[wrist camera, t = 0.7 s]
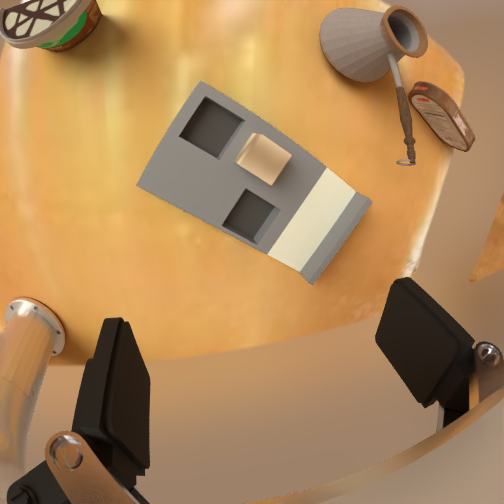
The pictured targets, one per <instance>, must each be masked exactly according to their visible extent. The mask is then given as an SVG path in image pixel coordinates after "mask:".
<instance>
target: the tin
mask: <svg viewBox="0 0 504 504" xmlns="http://www.w3.org/2000/svg"><path fill="white" fill-rule="evenodd" d="M410 101H411V103H412V105H413V106H414V108H415V109H416V110H417V111H418V112H419V114H420V115H421V116H422V117H423V119H424V120H425V121H426V122H427V124H428V125H429V126H430V127H431V129H432V130H433V131H434V133H435V134H436V135H437V136H438V137H439V138H440V139H441V140H442V141H443V142H445V143H446V144H448V145H449V146H451V147H453V148H456V149H458V150H462V151H464V152H467V151H469V149H470V148H471V146H472V144H473V142H474V141H475V135H474V133H473V131H472V129H471V128H470V126H469V124H468V122H467V121H466V119H465V117H464V116H463V114H462V112H461V111H460V109H459V107H458V106H457V104H456V103H455V101H454V100H453V99H452V98H451V97H450V96H449V95H448V94H447V93H446V92H445V91H443V90H442V89H441V88H439V87H437V86H435V85H433V84H431V83H427V82H417V83H415V85H414V88H413V89H412V91H411V93H410Z"/></svg>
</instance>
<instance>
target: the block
mask: <svg viewBox="0 0 504 504" xmlns="http://www.w3.org/2000/svg"><path fill="white" fill-rule="evenodd" d="M291 156H292V155H291V154H290V153H288V152H287V151H285V150H284V149H283V148H281V147H280V146H278V145H277V144H275V143H274V142H273V141H271V140H270V139H268V138H267V137H265V136H264V135H262V134H257V133H252V135H251V136H250V138H249V139H248V141H247V142H246V144H245V145H244V147H243V148H242V150H241V151H240V153H239V154H238V156H237V157H236V159H235V160H234V162H236V163H237V164H238V165H240V166H241V167H243V168H244V169H246V170H248V171H249V172H251V173H252V174H254V175H256V176H257V177H259V178H260V179H262V180H263V181H265V182H267V183H268V184H270V185H272V184H273V183H274V181H275V180H276V178H277V177H278V175H279V174H280V172H281V171H282V169H283V168H284V166H285V165H286V163H287V162H288V160H289V159H290V157H291Z"/></svg>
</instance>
